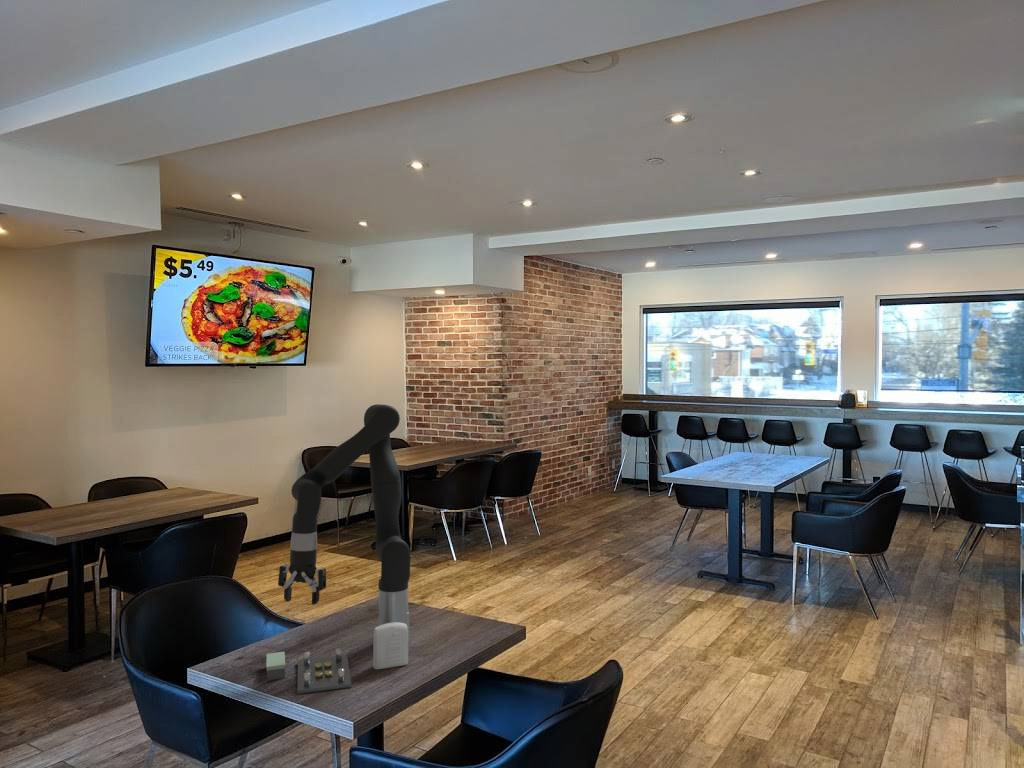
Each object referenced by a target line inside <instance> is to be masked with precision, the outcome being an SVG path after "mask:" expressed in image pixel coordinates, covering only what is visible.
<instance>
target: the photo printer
mask: <svg viewBox="0 0 1024 768" xmlns="http://www.w3.org/2000/svg"><path fill="white" fill-rule="evenodd" d="M372 636H373V637H372V638H373V642H372V643H373V647H372V648H373V649H372V652H373V655H372V660H373V662H372V663H373V664H372V665H373V666H372V667H373V669H374V670H383V669H390V668H396V667H403V666H406V665H408V664H409V644H408V628H407V625H406V624H405V623H399V622H393V623H387V624H383V625H381V626H379V625H378V626H376V627H374V629H373V635H372Z"/></svg>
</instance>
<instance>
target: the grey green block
mask: <svg viewBox="0 0 1024 768" xmlns="http://www.w3.org/2000/svg"><path fill="white" fill-rule="evenodd" d="M285 652H286V651H279V652H271V653H270V652H269V653H266V681H272V680H278V679H279V680H280V679H285V678H286V654H285Z"/></svg>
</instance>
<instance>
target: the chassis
mask: <svg viewBox="0 0 1024 768" xmlns="http://www.w3.org/2000/svg"><path fill="white" fill-rule="evenodd" d="M347 688H352V678H351V674H350V666H349V660H348V655H347V654H342V648H340V647H338V648H335V655H331V656H323V657H314V658H311V652H310V651H305V652H304V653H303V659H298V660H297V689H296V690H297V695H300V694H307V693H309V694H310V693H315V692H325V691H333V690H340V689H347Z"/></svg>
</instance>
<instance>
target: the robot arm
mask: <svg viewBox="0 0 1024 768" xmlns="http://www.w3.org/2000/svg"><path fill="white" fill-rule="evenodd" d="M400 419H401V418H400V414H399V411H398V410H397V408H395V407H394V406H392V405H387V404H373V405H370V406H369V407H368V408H367V409H366V410H365V413H364V416H363V424H364V426H363V427H362V428H361V429H360V430H359V431H358V432H356V434H354V435H353V436H351V437H350V438H349V439H346V440H345V441H344V442H342V443H341V444H339V445H338V446H337V447H335V448H334V449H333V450H332V451H330V452H329V453H328V454H327V455H326V456H325V457H324V458H323V459H321V461H320V462H319V463H317V464H316V465H315V466H313V467H312V468H310V469H309V470H308V471H307V472H305V473H304V474H302V475H301V476H300V477H299V478H298V479H296V480H295V482H294V483H293V485H292V487H291V496H292V498H293V499H294V500H296V501H297V505H296V511H295V513H294V514H293V517H292V523H291V524H292V526H291V527H292V528H291V535H290V536H291V537H290V545H289V546H290V549H289V550H290V552H289V564H290V565H288V564H286V563H285V564H283V565H281V566H279V570H278V572H279V573H278V579H277V581H278V582H277V586H279V587H282V588H283V589H284V591H283V592H284V594H283V599H284V602H286V603H288V602H291V601H292V591H293V587H292V586H293V585H294V583H301V584H302V583H303V584H307V586H308V587H310V588H311V591H312V592H311V605H313V606H314V605H317V604H318V603H319V601H320V591H323V590H325V589H326V588H327V569H326V568H325V567H323V568H317V567H316V566H317V565H316V564H317V553H318V551H317V550H318V534H317V533H318V515H319V511H320V507H321V504H322V503H321V502H322V488H323V487H324V486H326V485H328V484H330V483H333V482H334V481H336V480H337V479H338V478H339V477H340V476H341V475H342V474H343V473H344V472H346V470H348V468H349V467H351V465H352V464H353V463H355V461H357V460H358V459H359V458H360V457H361V456H363V455H364V453H366V452H367V451H368V452H369V467H370V469H369V470H370V485H371V495H372V503H373V504H372V505H373V511H374V517H375V553H376V556H377V559H378V560H379V561H380V563H381V564H380V566H381V568H380V569H381V570H380V571H381V572H380V578H379V580H378V626H381V625H383V624H387V623H393V622H399V623H405V624H406V625H407V628H408V645H410V643H411V642H410V641H411V640H410V636H411V634H410V612H409V581H410V577H411V550H410V547H409V544H408V543H407V542H406V541H405V540H403V539H402V535H401V531H400V524H399V523H400V522H399V515H400V508H401V505H402V494H403V493H402V481H401V480H402V478H401V472H400V469H399V467H398V464H397V461H396V458H395V456H394V453H393V450H392V446H391V433H392V432H394V431H395V430H396V429H397V428H398V427H399V424H400ZM288 573H290V576H289V577H287V576H288ZM315 575H316V576H315ZM316 577H318V578H316Z"/></svg>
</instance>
